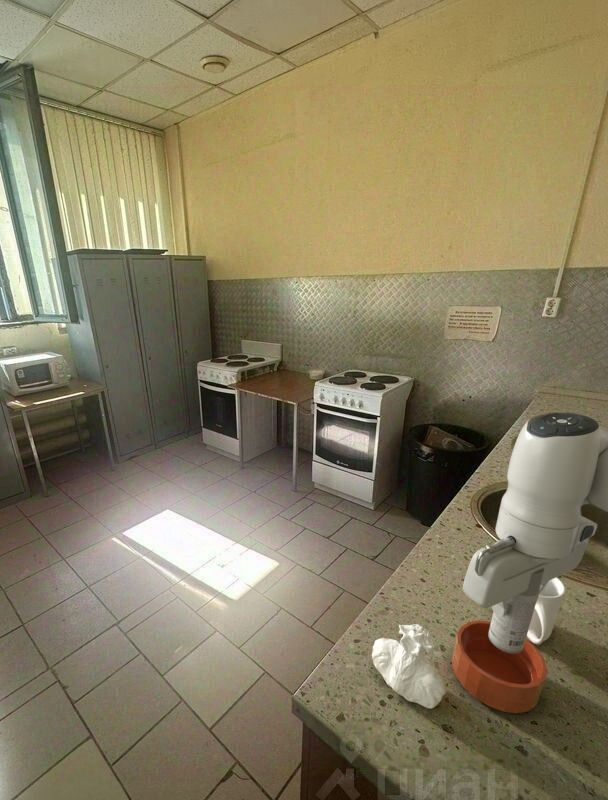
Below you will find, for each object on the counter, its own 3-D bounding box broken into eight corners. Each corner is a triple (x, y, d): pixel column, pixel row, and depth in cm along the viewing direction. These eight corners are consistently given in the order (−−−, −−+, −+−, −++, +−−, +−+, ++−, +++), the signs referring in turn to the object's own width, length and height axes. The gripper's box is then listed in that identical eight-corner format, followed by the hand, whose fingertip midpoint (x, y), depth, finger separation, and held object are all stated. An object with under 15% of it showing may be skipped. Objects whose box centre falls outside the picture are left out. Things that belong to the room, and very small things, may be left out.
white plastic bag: (441, 718, 61) (470, 650, 62) (426, 725, 56) (457, 651, 57) (373, 665, 70) (400, 607, 71) (355, 667, 65) (383, 604, 66)
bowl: (514, 649, 70) (522, 623, 68) (554, 720, 58) (565, 692, 56) (441, 642, 71) (446, 617, 69) (467, 710, 60) (474, 683, 58)
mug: (506, 653, 69) (520, 606, 65) (491, 603, 80) (501, 560, 76) (565, 666, 66) (582, 618, 63) (541, 612, 77) (554, 568, 73)
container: (524, 637, 62) (545, 559, 57) (522, 659, 59) (545, 579, 53) (490, 623, 65) (507, 548, 60) (486, 644, 61) (504, 566, 56)
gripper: (503, 563, 48) (483, 646, 53) (605, 522, 55) (580, 599, 60) (459, 535, 54) (445, 613, 59) (557, 501, 61) (538, 573, 66)
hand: (514, 605), depth 59 cm, fingers closed on container, 4 cm apart
